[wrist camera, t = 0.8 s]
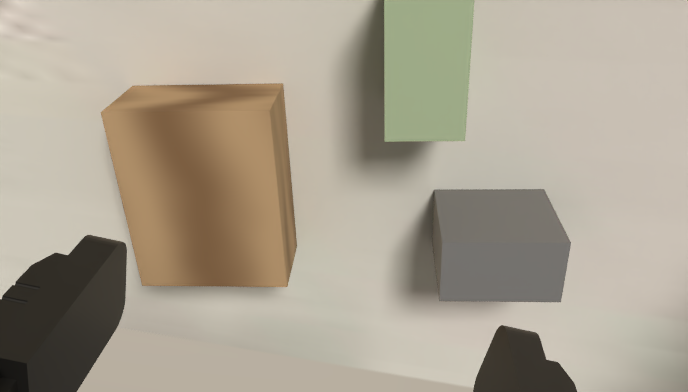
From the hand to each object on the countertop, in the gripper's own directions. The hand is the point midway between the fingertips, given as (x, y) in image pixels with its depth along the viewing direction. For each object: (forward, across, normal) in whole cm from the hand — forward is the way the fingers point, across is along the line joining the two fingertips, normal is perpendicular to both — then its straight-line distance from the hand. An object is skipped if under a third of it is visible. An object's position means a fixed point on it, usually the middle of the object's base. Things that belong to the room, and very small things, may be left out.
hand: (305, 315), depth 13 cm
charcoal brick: (+20, -9, +7) cm, 23 cm away
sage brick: (+20, -3, -2) cm, 20 cm away
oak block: (+20, +6, +8) cm, 22 cm away
